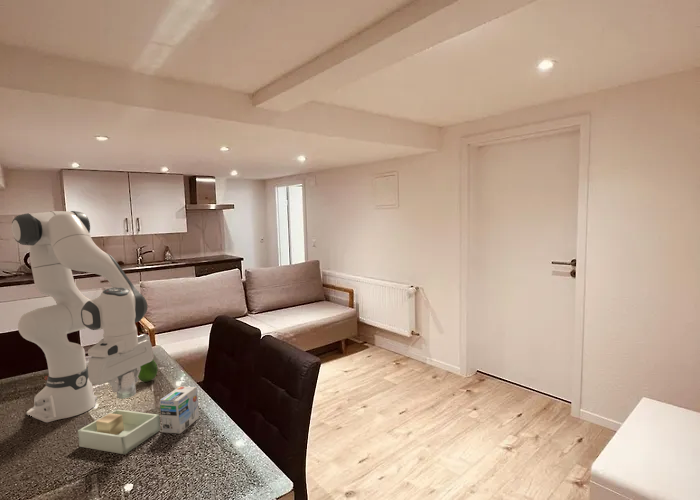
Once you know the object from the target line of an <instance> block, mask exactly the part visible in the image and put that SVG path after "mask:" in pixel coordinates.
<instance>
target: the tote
mask: <svg viewBox="0 0 700 500" xmlns="http://www.w3.org/2000/svg"><path fill="white" fill-rule="evenodd" d="M110 413H112V414H120V415H122V416H123V425H124V430H123V431H122V432H120V433H118V434H117V435H114V434H108V433H101V432H97V425H96V421H97V420H99V419H101V418H103V417H104V416H106V415H108V414H110ZM104 416H101V417H100V418H98V419H96V420H94V421H92V422H90V423H89V424H87V425H85V426H83V427H82V428H80V429H78V430H77V436H78V437H77V438H78V445H79V447H80V448H86V449H92V450H96V451H97V450H98V451H103V452H109V453H114V454H115V453H116V454H119V455H127V454H128V453H129V452H131V451H132V450H133V449H136V447H138V446H140V445H141V444H142V443H144V442H145V441H146V440H148V439H150V438H151V437H152V436H154V435H155V434H156V433H158V432H159V431H162V429H161V428H162V427H161V419H160V418H161V417H160V414H159V413H158V414H155V413H150V412H149V413H148V412H141V411H134V410H127V409H125V410H124V409H118V408H117V409H114V410H113V411H111V412H109V413H106V414H105V415H104Z"/></svg>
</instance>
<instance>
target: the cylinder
mask: <svg viewBox="0 0 700 500" xmlns="http://www.w3.org/2000/svg"><path fill="white" fill-rule="evenodd" d="M115 382H116V383H117V384H121V387H120V388H121V390H119V391H118V392H116V397H117V399H127V398H132V397H134V396H135V395H136V394H137V390H136V382H135V377H134V370H131V371H129V372H127V373H125V374H123V375H120V376H118V377H117V381H115Z"/></svg>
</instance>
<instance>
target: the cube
mask: <svg viewBox="0 0 700 500" xmlns="http://www.w3.org/2000/svg"><path fill="white" fill-rule="evenodd" d="M109 413H110V414H109ZM109 413H107V414H108V415H107V414H105V415H106V416H105V415H104V417H103V416H102V417H103V418H101V417H100V418H101V419H100V418H98V419H99V420H98V419H96V420H97V421H96V420H95V421H96V425H97V432H101V433H108V434H114V435H117V434H118V433H120V432H122V431H123V430H124V425H123V416H122V415H120V414H112V413H111V412H109Z"/></svg>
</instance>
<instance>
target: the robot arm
mask: <svg viewBox="0 0 700 500" xmlns="http://www.w3.org/2000/svg"><path fill="white" fill-rule="evenodd" d="M10 228H11V234H12V236H13V238H14V240H15V241H16V242H17V243H18V244H20V245H23V246H29V261H30V266H31V267H30V268H31V272H32V278H33V282H34V285H35V286H34V287H35V289H36V290H37V291H38V293H40V294H42V295H45V296H46V295H47V296H50V297H51V298H53V299H54V301H55V303H56V304H53V305H48V306H44V307H39V308H36V309H33V310H30V311H28V312H26V313H24V314H23V315H22V316H21V317H20V318H19V321H18V324H17V329H18V332H19V334H20V336H21V337H22V338H23V339H25V340H26V341H29V342H31V343H34V344H35V345H37V346H38V348H40V349H41V350H42V352H43V353H44V357H45V359H46V363H47V369H48V375H46V376H44V380H45V381H46V385H45V386H44V387H43V389H41V390H40V391H39V392H38V393H36V395H35V396H34V402H33V403H34V404H33V405H34V406H33V407H31V408H30V409H28V410H27V411H26V415H27V416H29V415H30V417H31V416H32V417H31V418H34V419H37V420H39V421H42V422H44V423H50V422H53V421H57V420H61V419H62V420H63V419H67V418H72V417H75V416H79V415H81V414H83V413H86V412H88V411H89V410H91V409H93V408H94V407H95V406H96V401H97V399H98V396H97V395H95V393H94V388H93V387H94V386H93V385H102V384H105V383H108V384H109V385H110V387H111V391H112V392H113V393H117V392H118V391H119V390H121V388H120V387H121V384H117V383H116V381H117V377H118V376H120V375H123V374H125V373H127V372H129V371H131V370H134V377H135V383H138V382H139V378H138V375H139V373H140V370H141V367H140V366H142V365H144V364H146V363H149V362H151V361H152V360H154V350H153V349H154V348H153V346H152V342H151V338H150V336H149V335H148V334H146V333H143V334H140V335H138V328H137V325H136V323H139V322H140V321H141V320H142V319H143V318H144V317H145V315H146V313H147V311H148V307H149V306H148V303H147V299H146V298H145V296H144V295H143V294H142V293H141V292H140V291H139V290H137V288H136V287H135V286H134V284H133V283H132V281H131V280H130V278H129V277H128V276H127V274H126V273H125V271H124V270H123V269H122V267H121V265H120V264H119V263H118V262H117V260H116V259H115V258H114V256H112V255H111V254H109V253H107V252H105V250H104V251H103V250H102V248H100V247H99V246H98V245H97V244H96V243H95V242H94V240H93V238H92V235H91V234H90V233H91V222H90V220H89V217H88V216H87V215H86V213H84V212H81V211H75V210H71V211H65V210H64V211H60V210H52V211H44V212H36V213H35V212H34V213H22V214H19V215H16V216H15V217H14V218H13V219H12V221H11V227H10ZM73 271H77V272H83V273H85V272H86V273H90V274H95V275H98V276H101V277H103V278H105V279H106V280H107V282H109V284H110V286H111V287H109V288H105V289H104V290H102V291H101V293H100V295H99V296H97V297H95V298H93V299H90V298H88V297H87V296H86V295H84V293H82V292H81V291H80V289H79V288H78V285H77V284H76V281H75V279H74V274H73ZM85 329H89V330H92V331H99V330H103V335H102V337H103V338H102V339H101V340H99V341H98V342H97V343H96V344H94V345H93V346H92V347H90V348H88V350H87V355H88V357H90V358H89V360H88V362H87V361H86V351H85V348H84V347H83V346H82V345H81V344H79V343H78V342H77V343H76V342H72V341H70V340H69V339H68V334H71V333H74V332H78V331H81V330H85Z"/></svg>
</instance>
